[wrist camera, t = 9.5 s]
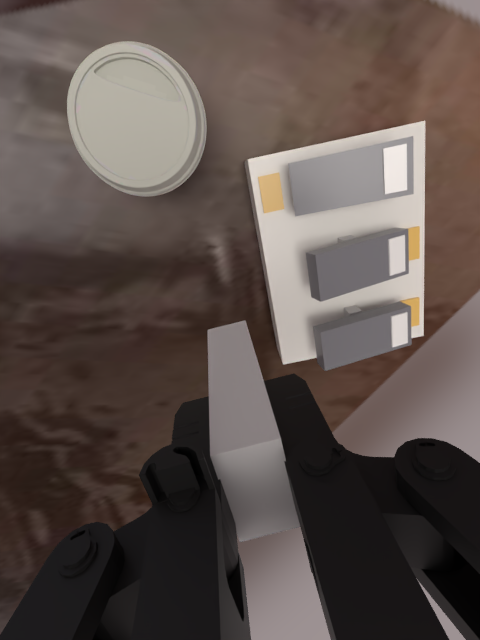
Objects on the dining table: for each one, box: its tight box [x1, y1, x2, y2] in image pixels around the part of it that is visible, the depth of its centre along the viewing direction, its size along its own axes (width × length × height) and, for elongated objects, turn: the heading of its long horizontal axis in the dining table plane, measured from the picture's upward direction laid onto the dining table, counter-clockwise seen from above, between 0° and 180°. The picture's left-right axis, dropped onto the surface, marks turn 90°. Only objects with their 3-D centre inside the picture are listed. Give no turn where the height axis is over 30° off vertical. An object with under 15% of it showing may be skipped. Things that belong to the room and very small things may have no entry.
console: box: [244, 121, 425, 365], centre depth 33 cm, size 15×20×6 cm
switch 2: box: [306, 228, 409, 302], centre depth 29 cm, size 9×4×2 cm, turn 102°
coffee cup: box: [67, 41, 207, 196], centre depth 26 cm, size 9×8×12 cm
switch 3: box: [313, 301, 411, 371], centre depth 32 cm, size 9×4×2 cm, turn 101°
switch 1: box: [288, 136, 414, 216], centre depth 27 cm, size 9×4×2 cm, turn 101°
